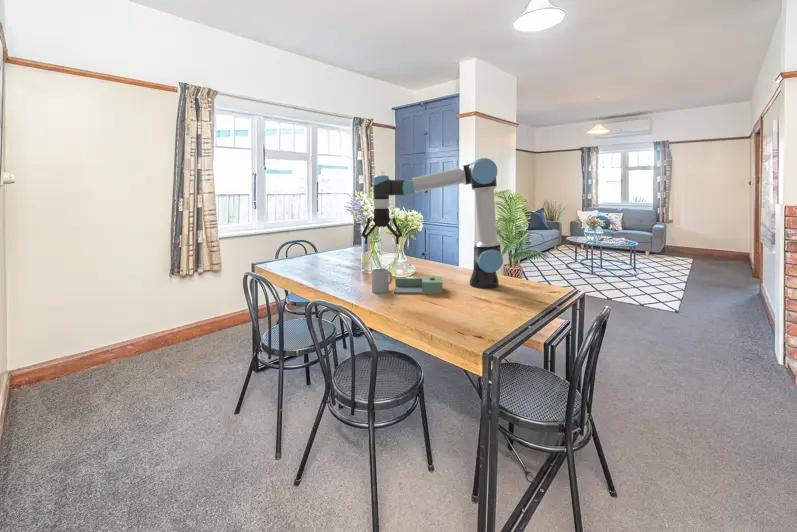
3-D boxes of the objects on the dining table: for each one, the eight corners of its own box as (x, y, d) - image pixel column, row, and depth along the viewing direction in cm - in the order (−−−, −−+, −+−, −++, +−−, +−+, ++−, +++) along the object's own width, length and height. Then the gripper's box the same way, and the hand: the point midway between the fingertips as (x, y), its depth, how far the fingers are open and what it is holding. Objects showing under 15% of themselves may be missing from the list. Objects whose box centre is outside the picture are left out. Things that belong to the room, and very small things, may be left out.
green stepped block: (441, 287, 204) (441, 274, 203) (442, 294, 192) (442, 280, 190) (395, 287, 206) (395, 274, 205) (393, 294, 193) (393, 280, 192)
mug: (379, 294, 193) (379, 272, 191) (368, 291, 199) (368, 270, 197) (397, 290, 201) (396, 269, 199) (386, 287, 207) (385, 266, 205)
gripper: (407, 207, 194) (407, 249, 199) (357, 207, 196) (358, 249, 200) (406, 208, 187) (406, 252, 191) (354, 208, 189) (356, 251, 193)
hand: (382, 250), depth 196 cm, fingers open, 13 cm apart
